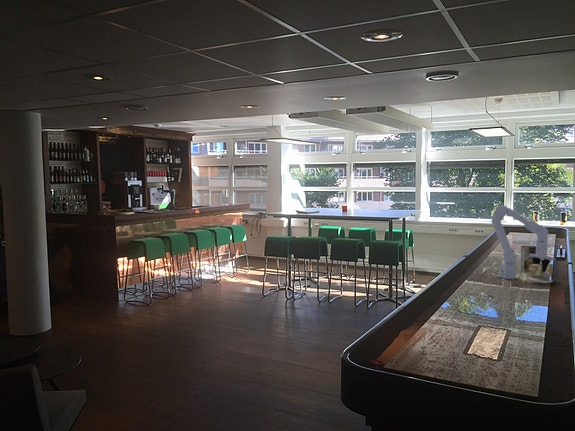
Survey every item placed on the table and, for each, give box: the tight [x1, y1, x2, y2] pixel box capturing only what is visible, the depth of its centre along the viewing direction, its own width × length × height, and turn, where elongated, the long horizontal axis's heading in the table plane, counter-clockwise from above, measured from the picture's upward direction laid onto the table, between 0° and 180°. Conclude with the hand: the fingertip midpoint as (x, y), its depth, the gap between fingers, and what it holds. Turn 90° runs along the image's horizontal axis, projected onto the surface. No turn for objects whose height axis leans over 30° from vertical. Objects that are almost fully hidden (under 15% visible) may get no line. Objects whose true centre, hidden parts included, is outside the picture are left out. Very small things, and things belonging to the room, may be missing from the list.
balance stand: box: [527, 275, 553, 284], centre depth 267 cm, size 8×10×3 cm
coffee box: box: [519, 245, 539, 272], centre depth 299 cm, size 9×6×16 cm
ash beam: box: [528, 263, 554, 277], centre depth 267 cm, size 16×4×6 cm, turn 116°
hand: (540, 271), depth 267 cm, fingers closed on ash beam, 3 cm apart
